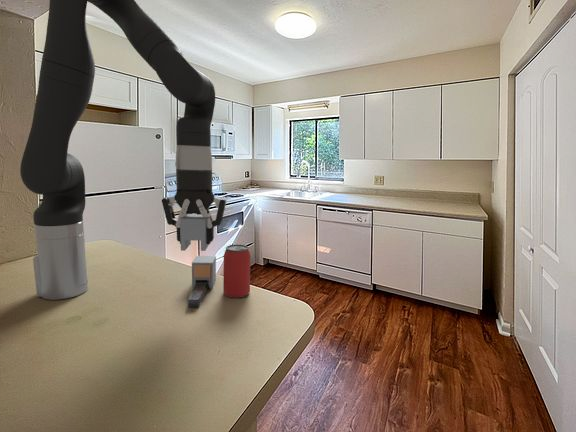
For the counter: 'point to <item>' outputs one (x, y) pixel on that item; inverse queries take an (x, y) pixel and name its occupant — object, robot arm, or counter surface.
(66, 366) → the counter surface
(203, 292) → the rail
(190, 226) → the grey block
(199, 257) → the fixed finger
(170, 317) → the counter surface
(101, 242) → the counter surface
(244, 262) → the beer can
